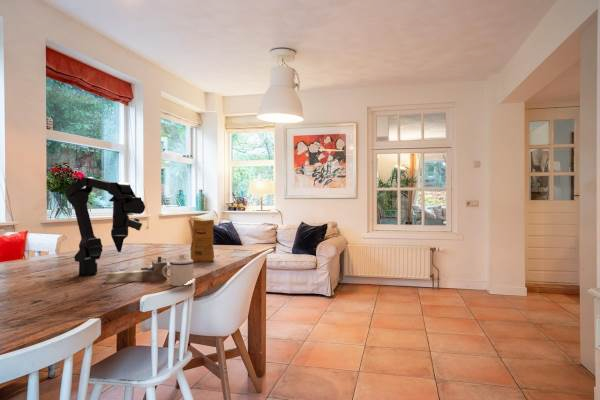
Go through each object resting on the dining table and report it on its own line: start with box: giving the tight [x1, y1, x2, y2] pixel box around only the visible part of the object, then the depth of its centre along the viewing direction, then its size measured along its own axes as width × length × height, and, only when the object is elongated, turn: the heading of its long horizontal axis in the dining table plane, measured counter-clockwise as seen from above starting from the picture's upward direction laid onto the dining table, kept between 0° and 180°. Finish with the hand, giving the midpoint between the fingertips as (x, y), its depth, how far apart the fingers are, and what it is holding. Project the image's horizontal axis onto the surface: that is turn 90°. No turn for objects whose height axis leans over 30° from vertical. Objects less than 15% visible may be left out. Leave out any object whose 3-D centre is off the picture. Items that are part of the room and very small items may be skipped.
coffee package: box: [190, 219, 215, 263], centre depth 208 cm, size 10×12×22 cm
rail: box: [105, 265, 151, 284], centre depth 158 cm, size 17×4×5 cm, turn 116°
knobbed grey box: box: [140, 255, 168, 282], centre depth 162 cm, size 9×9×9 cm
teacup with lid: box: [163, 253, 195, 287], centre depth 153 cm, size 12×9×12 cm
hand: (119, 250), depth 162 cm, fingers open, 9 cm apart
